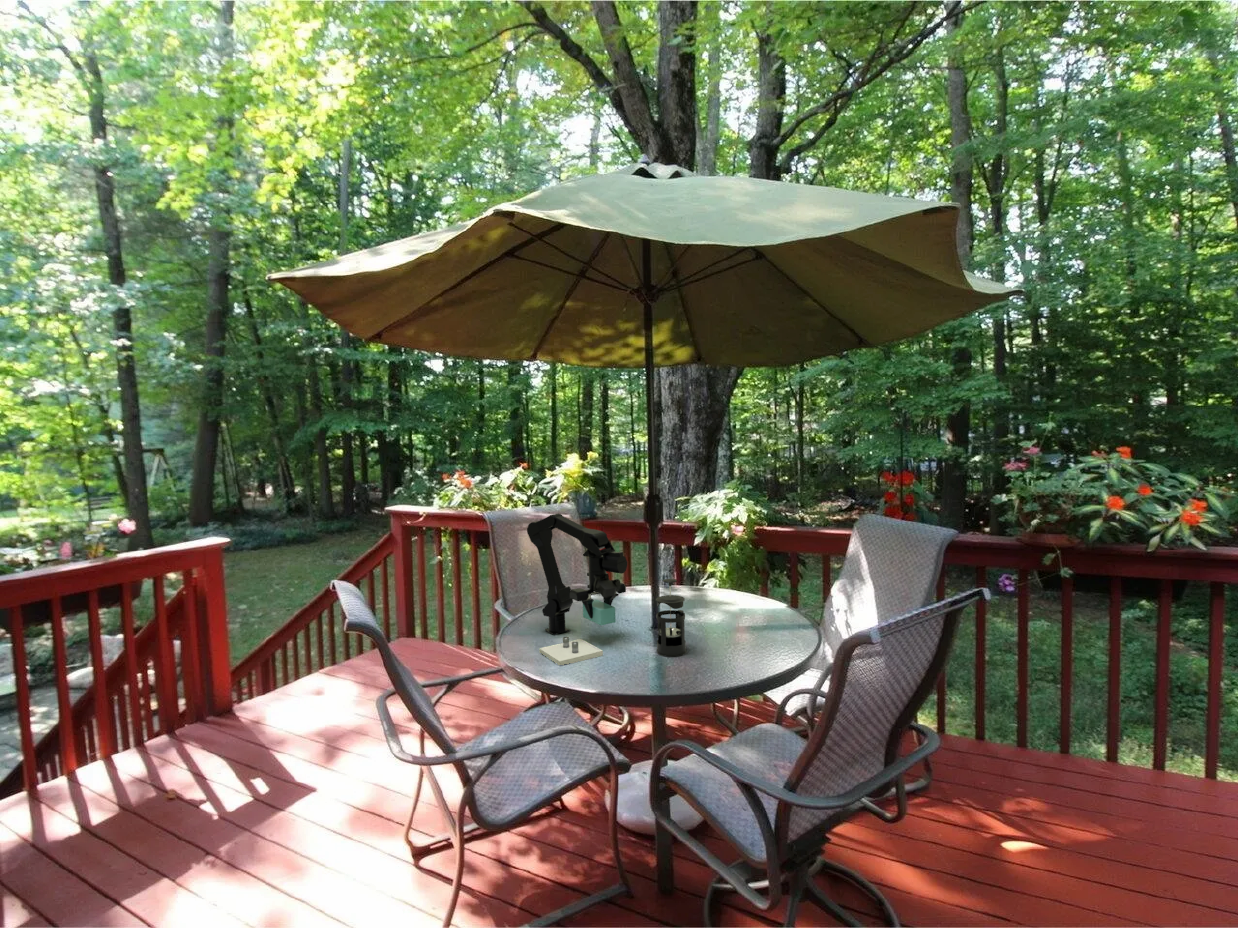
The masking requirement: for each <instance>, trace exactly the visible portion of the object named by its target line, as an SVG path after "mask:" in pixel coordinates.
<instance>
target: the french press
mask: <svg viewBox="0 0 1238 928" xmlns="http://www.w3.org/2000/svg"><path fill="white" fill-rule="evenodd" d="M662 581H663V582H664V583H668V587H669V589H668V590H669V595H667V594H666V595H665V594H664V595H660V596H656V598H655V601H656V602H657V603H656V604H657V607H659V606H660V605H661V604H664V605H667V606H668V607H669V609H668V610H667V609H666V610H661V611H658V612H657V613H656V615H655V617H656V621H657V640H656V654H657V655H658V656H661V657H666V658H677V657H681V656H684V655H686V653H687V651H688V649H687V648H686V647H687V645H686V643H687V642H686V637H685V636H686V635H685V632H686V631H685V620H686V613H685V611H684V610H681V608H683V607H684V602H685V597H684V596H681V595H674V594H672V588H671V587H672V583H676V582H677V579H675V578H664V579H663V580H662ZM664 615H665V616H666V615H669V618H666V617H662V616H664ZM672 615H675V617H673V618H672ZM668 623H669V625H670V627H667V624H668ZM672 623H673V624H674V623H675V627H672Z"/></svg>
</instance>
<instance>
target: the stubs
mask: <svg viewBox="0 0 1238 928" xmlns="http://www.w3.org/2000/svg"><path fill="white" fill-rule="evenodd" d="M569 641H570V637H569V636H563V637H562V643H563V648H569ZM578 652H579V650H578V642H572V653H578Z"/></svg>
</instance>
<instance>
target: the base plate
mask: <svg viewBox="0 0 1238 928" xmlns="http://www.w3.org/2000/svg"><path fill="white" fill-rule="evenodd" d="M572 642H578V650H579V652H578V653H572ZM540 653H542V654H543V655H545V656H546V657H548V658H549V659H548V658H547V659H548V660H550V659H551V660H552V661H551V660H550V661H551V662H553V661H554V662H555V663H554V662H553V663H554V664H556V663H557V664H558V665H557V664H556V665H557V666H559V665H563V666H565V665H564V664H567V665H570V664H569V663H571V664H574V663H578V661H579V662H583V661H587V660H591V659H594V658H595V659H596V658H597V657H603V656H604V651H603V650H602V649H600V648H599V647H596V646H595V645H593V644H591V643H590V642H587V641H586V640H584V639H582V638H577V639H575V640H569V648H563V642H561V643H558V644H557V643H556V644H552V645H548V646H544V647H543V646H542V647H540V648H539V654H540ZM542 654H541V655H542ZM543 655H542V656H543ZM545 656H544V657H545ZM546 657H545V658H546Z"/></svg>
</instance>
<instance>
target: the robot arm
mask: <svg viewBox="0 0 1238 928" xmlns="http://www.w3.org/2000/svg"><path fill="white" fill-rule="evenodd" d="M555 529H557V530H559V531H561V532H563V533H564V534H567V535H569V536H571V537H572V538H574V539H576V540H577V541H579V542H580V544H581V546H582V547H584V548H585V549H586V550H585V552H583V553H582V556H583V557H587V558H588V559H587V560H588V572H586V576H587V577H588V584H587V588H588V589H584V588H581V587H579V588H573V589H571V586H566V585H565V584H564V583H563V581H562V577H561V574H560V570H559V567H558V564H557V559H556V556H555V554H554V550H553V546H552V540H553V531H554V530H555ZM526 533H527V535H528V538H529V539H530V541H531V543H533V545H534V546H535V547H536V548H537V552H538V555H539V559H540V562H541V566H542V568H543V569H542V570H543V573H544V575H545V580H546V583H547V587H548V589H547V590H548V591H547V595H546V598H547V604H546V605H545V606H544V607H543V608H542V610H541V612H542V614H543V616H544V617H548V628H545V629H544V630H545V632H547V633H549V634H550V635H553V636H555V635H558V634H564V633H568V632H570V629H569V628H567V627H566V613H569V612H570V611H571V607H572V605H573V604H574V601H575V602H582V605H583V604H584V606H585V608H586V610H587V612H588V615H589V617H590V618H591V619H592V618H593V609H592V603H593V601H594V600H595V599H593V598H592V596H594V595H598V594H600V595H601V597H602V598H603V600H602V601H603V602H604V603H606V604H609V605H611V606H612V603H613V602H614V599H615V598H616V597H619V595H620V594H624V593H626V592H627V586H626V585H625V583H623V582H621V580H620V579H619V578H616V579H610V576H609V573H614V574H624V573H625V572H627V569H628V561H627V557H626V556H624V552H623V551H616V549H615V548H614V546H613V545H612V542H611V541H610V540H609V538H608V535H607V533H606V532H604V531H603V530H600V529H599V530H598V529H594V528H593V529H592V528H588V527H585V526H584V525H581V524H579V523H577V522H575V521H574V520H572V519H569V518H567V517H565V516H564V515H563V514H561V513H553V514H549V515H548V516H547V517H545V518H543V519H540V520H536V521H532V522H529V524H528V525H527V527H526Z"/></svg>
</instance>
